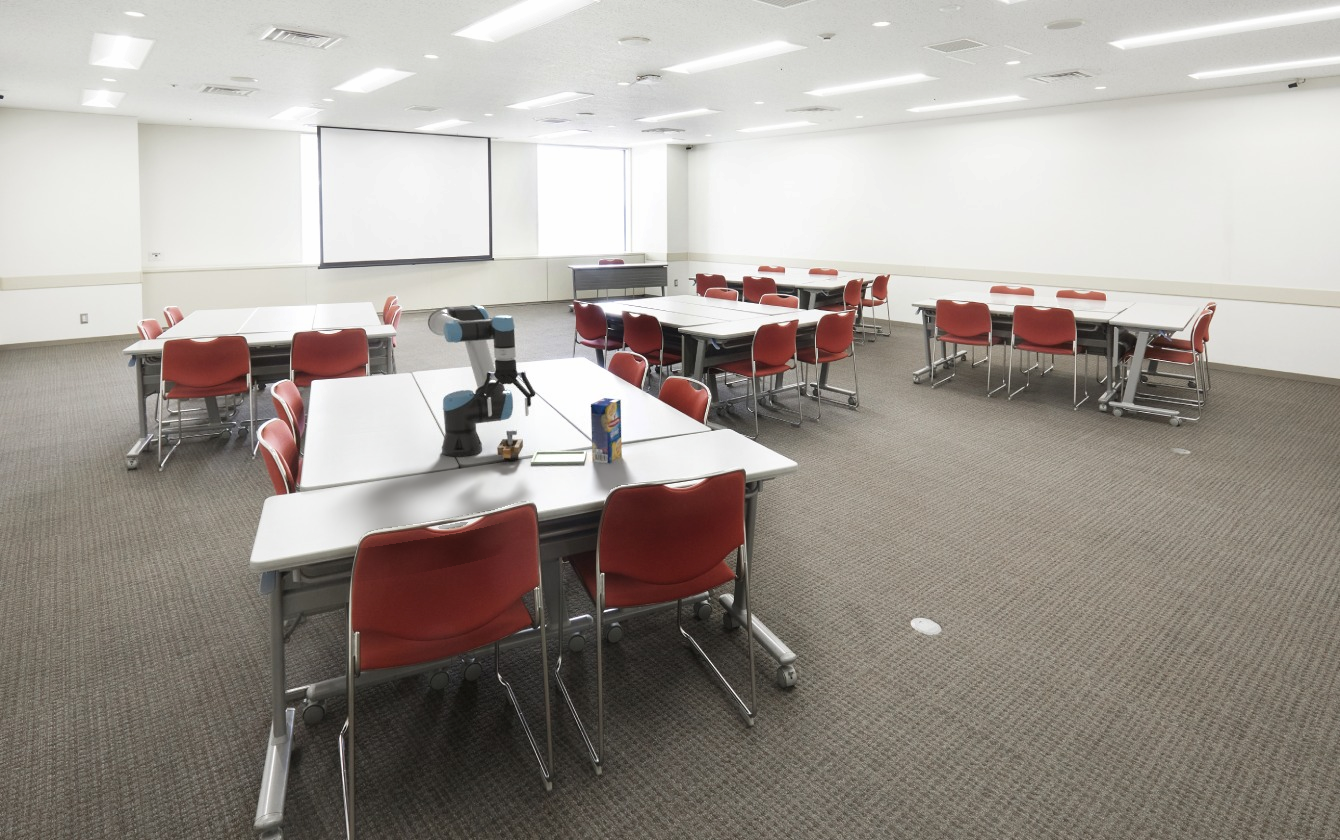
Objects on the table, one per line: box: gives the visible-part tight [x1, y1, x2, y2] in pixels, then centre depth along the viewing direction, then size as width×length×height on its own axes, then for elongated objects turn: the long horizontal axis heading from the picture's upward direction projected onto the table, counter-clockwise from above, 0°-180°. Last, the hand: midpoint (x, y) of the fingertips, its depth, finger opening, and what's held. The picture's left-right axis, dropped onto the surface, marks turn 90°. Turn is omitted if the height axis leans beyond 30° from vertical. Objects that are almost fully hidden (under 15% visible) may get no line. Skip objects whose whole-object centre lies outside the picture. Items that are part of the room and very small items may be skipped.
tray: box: [530, 450, 587, 466], centre depth 281 cm, size 20×13×1 cm, turn 92°
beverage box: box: [590, 397, 623, 464], centre depth 280 cm, size 7×11×22 cm, turn 158°
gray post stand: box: [503, 429, 520, 463], centre depth 280 cm, size 6×6×12 cm
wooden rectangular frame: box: [496, 438, 524, 458], centre depth 278 cm, size 14×8×3 cm, turn 2°
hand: (508, 415), depth 277 cm, fingers open, 13 cm apart
